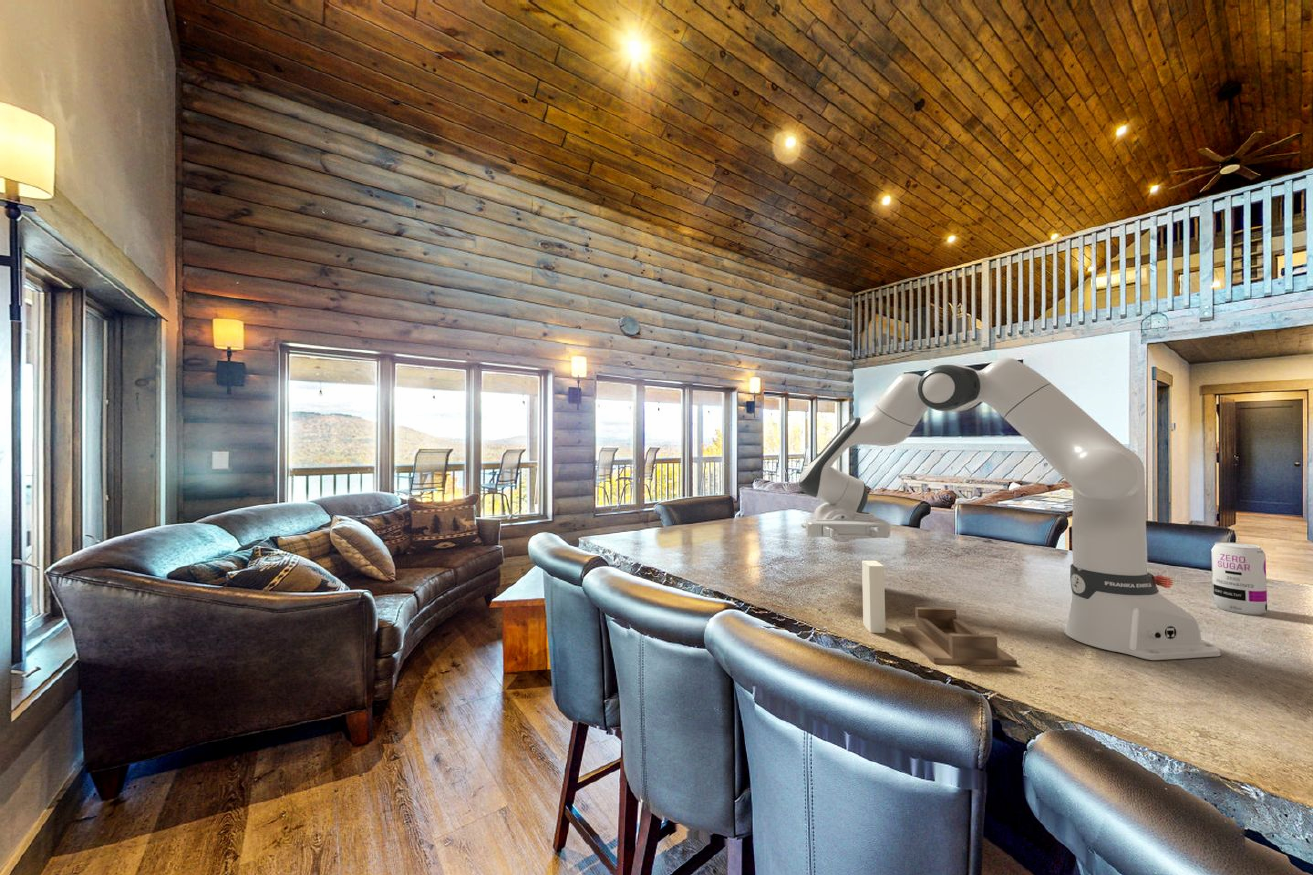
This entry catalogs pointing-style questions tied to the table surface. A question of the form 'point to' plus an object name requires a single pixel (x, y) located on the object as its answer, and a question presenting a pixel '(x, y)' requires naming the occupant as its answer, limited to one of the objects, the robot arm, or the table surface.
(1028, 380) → the robot arm
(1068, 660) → the table surface
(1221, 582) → the supplement can
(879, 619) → the cream rectangular block
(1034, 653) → the table surface
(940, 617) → the track board
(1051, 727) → the table surface
